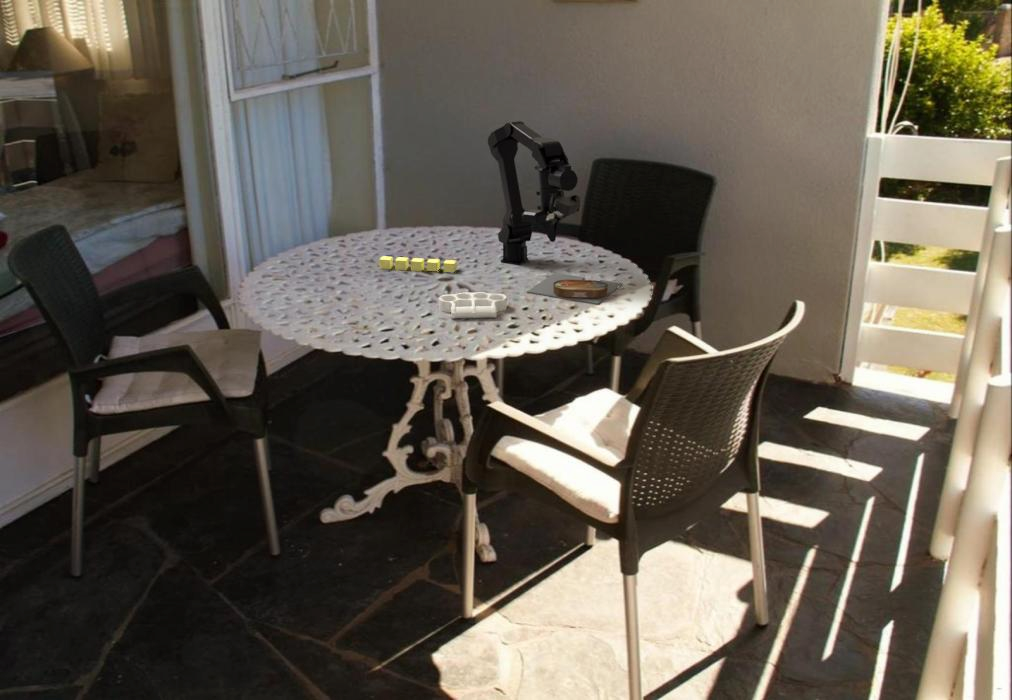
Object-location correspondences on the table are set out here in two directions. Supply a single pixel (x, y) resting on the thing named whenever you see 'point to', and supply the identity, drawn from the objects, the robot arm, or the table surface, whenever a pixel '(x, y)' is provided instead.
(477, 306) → the white brass knuckles
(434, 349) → the table surface
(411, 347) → the table surface
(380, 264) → the yellow cube row
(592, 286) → the tin
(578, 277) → the mat
